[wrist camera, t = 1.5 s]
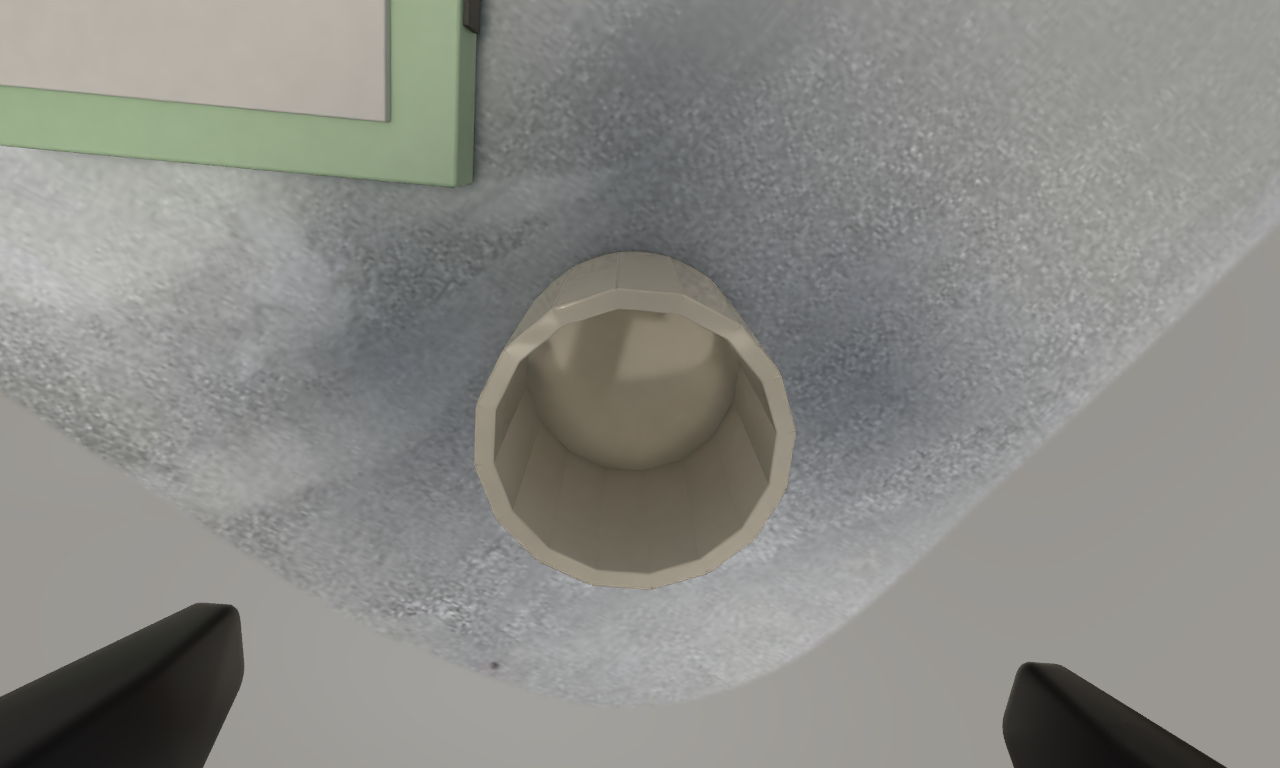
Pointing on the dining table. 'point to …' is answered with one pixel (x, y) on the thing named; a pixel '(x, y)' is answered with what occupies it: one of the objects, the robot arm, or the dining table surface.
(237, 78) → the scale
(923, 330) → the dining table surface
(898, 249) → the dining table surface
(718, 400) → the ramekin
